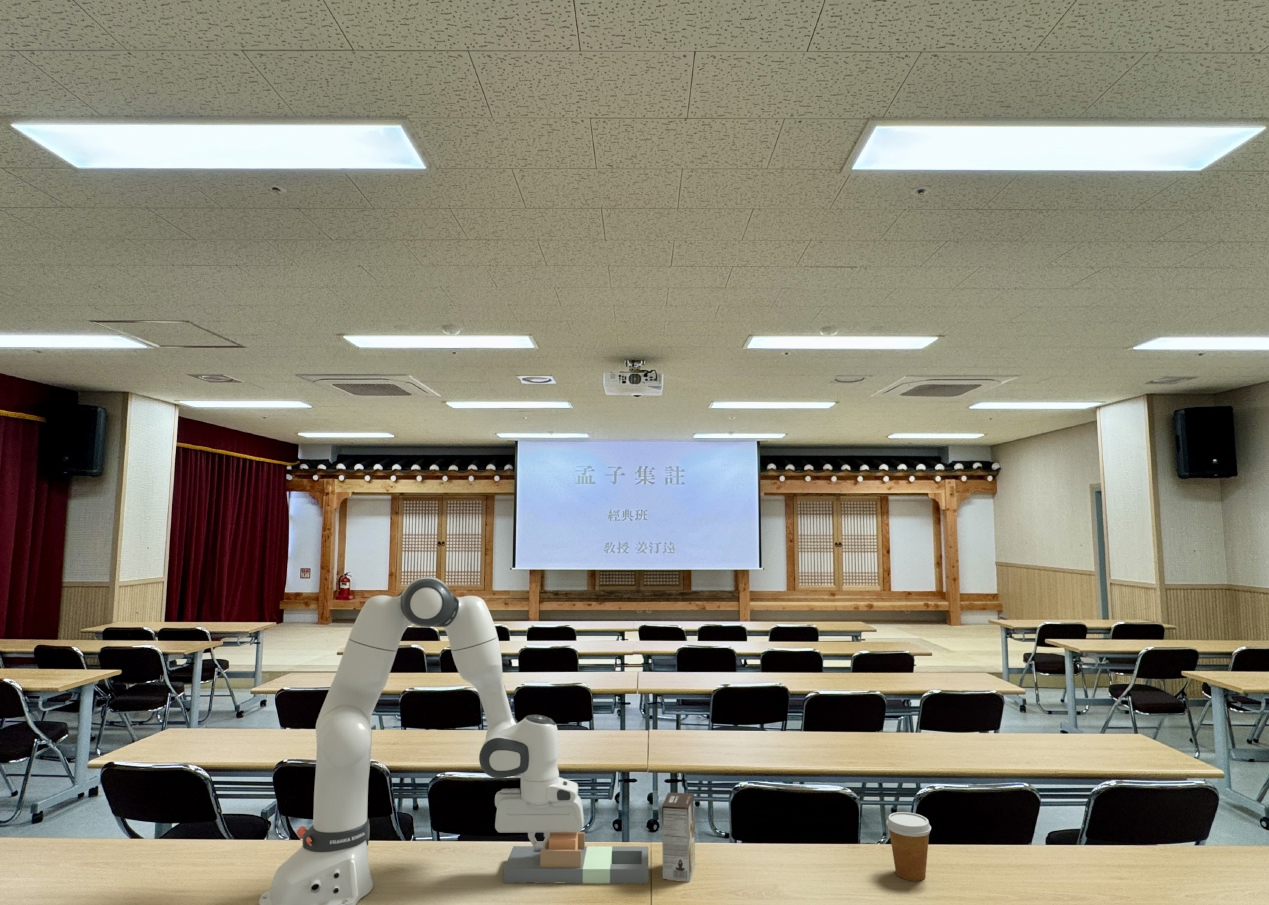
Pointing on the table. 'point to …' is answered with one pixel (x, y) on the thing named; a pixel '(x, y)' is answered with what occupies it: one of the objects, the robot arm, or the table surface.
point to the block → (563, 841)
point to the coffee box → (678, 836)
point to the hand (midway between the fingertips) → (539, 851)
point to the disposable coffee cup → (909, 844)
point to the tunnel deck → (578, 864)
